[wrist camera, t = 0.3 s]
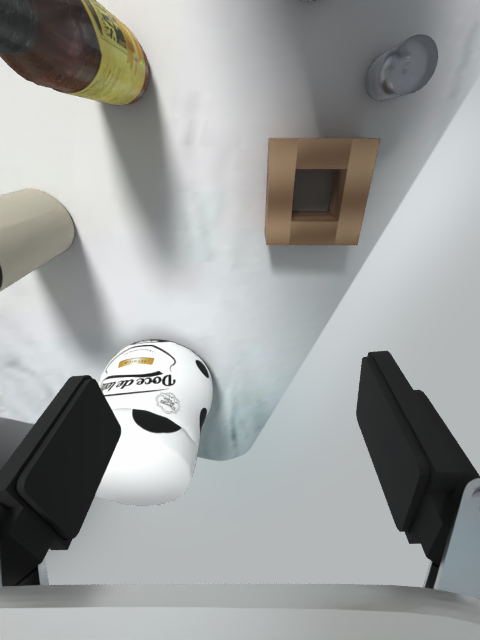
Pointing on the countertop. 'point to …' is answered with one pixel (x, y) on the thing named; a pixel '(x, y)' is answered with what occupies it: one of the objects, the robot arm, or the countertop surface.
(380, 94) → the short pin
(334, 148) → the hole block
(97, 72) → the sauce bottle
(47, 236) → the travel mug
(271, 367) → the countertop surface
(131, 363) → the milk container
